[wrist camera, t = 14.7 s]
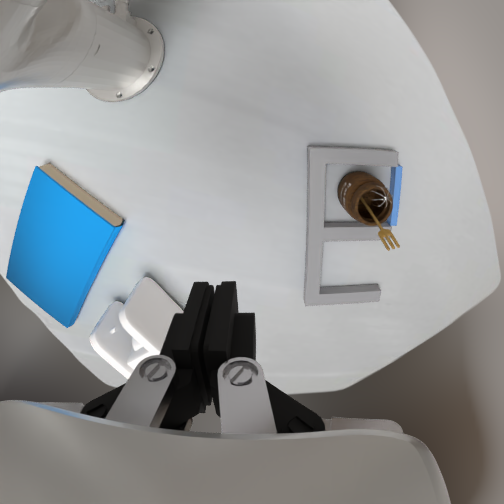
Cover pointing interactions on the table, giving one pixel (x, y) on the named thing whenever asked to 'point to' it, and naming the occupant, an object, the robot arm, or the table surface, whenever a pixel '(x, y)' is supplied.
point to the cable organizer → (134, 327)
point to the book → (60, 243)
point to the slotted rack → (341, 230)
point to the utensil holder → (367, 202)
